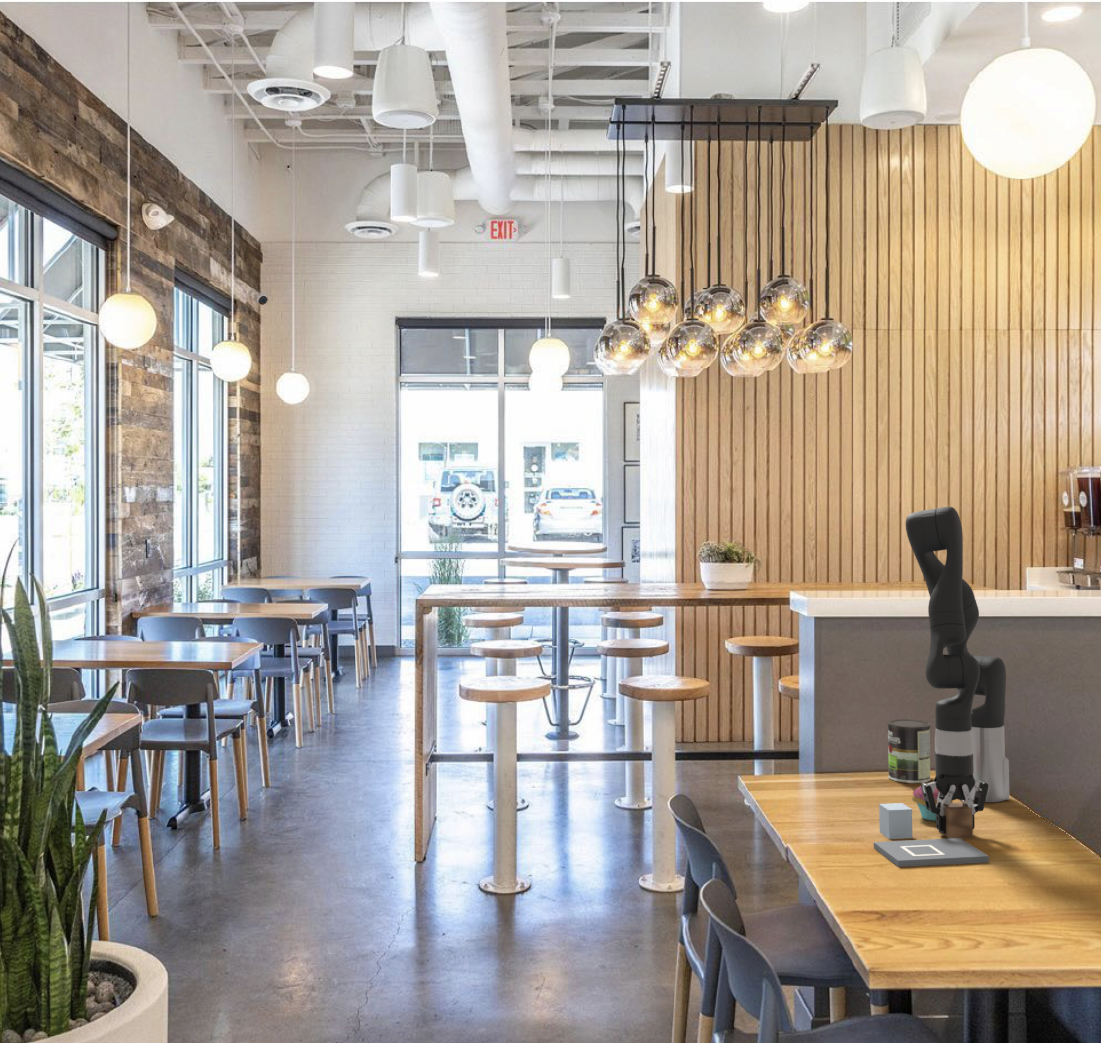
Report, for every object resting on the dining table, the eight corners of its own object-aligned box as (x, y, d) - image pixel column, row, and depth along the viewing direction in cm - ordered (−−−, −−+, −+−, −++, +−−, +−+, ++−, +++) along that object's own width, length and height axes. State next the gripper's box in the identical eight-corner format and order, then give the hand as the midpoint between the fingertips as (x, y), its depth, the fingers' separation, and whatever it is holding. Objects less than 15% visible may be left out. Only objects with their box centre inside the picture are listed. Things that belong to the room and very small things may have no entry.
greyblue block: (902, 831, 231) (902, 803, 231) (912, 838, 226) (912, 809, 226) (879, 832, 230) (879, 804, 230) (889, 839, 225) (888, 810, 225)
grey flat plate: (959, 843, 221) (959, 837, 221) (989, 862, 209) (988, 855, 209) (873, 848, 219) (873, 841, 219) (898, 867, 207) (898, 860, 207)
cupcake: (959, 817, 240) (958, 762, 240) (943, 825, 234) (942, 769, 234) (922, 810, 246) (921, 757, 246) (905, 818, 240) (904, 764, 240)
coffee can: (898, 784, 270) (897, 727, 270) (881, 774, 280) (880, 720, 280) (938, 782, 271) (937, 725, 271) (920, 773, 281) (919, 718, 281)
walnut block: (961, 831, 230) (961, 802, 230) (972, 838, 225) (972, 808, 225) (938, 832, 229) (938, 803, 229) (949, 839, 224) (948, 810, 224)
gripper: (978, 745, 231) (979, 825, 231) (913, 748, 230) (914, 828, 230) (995, 753, 224) (997, 835, 224) (928, 755, 223) (930, 839, 223)
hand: (955, 831), depth 227 cm, fingers closed on walnut block, 5 cm apart
